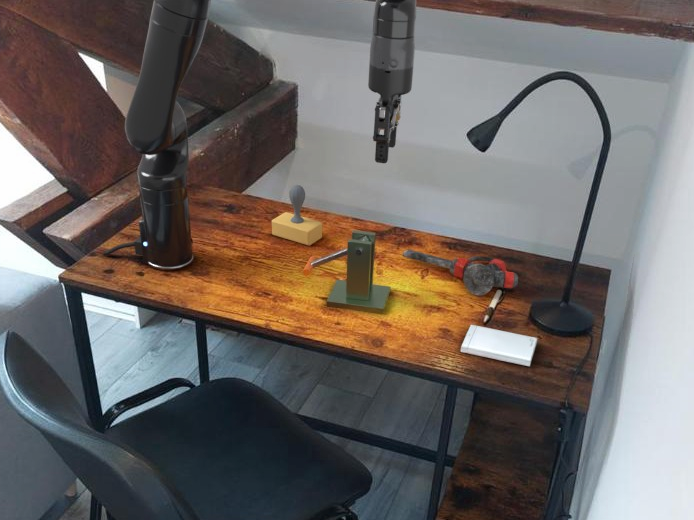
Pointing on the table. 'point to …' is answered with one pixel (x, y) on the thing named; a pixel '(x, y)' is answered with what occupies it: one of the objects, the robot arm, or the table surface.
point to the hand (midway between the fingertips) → (385, 154)
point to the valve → (472, 271)
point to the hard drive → (499, 345)
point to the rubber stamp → (297, 222)
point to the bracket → (360, 278)
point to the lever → (326, 259)
